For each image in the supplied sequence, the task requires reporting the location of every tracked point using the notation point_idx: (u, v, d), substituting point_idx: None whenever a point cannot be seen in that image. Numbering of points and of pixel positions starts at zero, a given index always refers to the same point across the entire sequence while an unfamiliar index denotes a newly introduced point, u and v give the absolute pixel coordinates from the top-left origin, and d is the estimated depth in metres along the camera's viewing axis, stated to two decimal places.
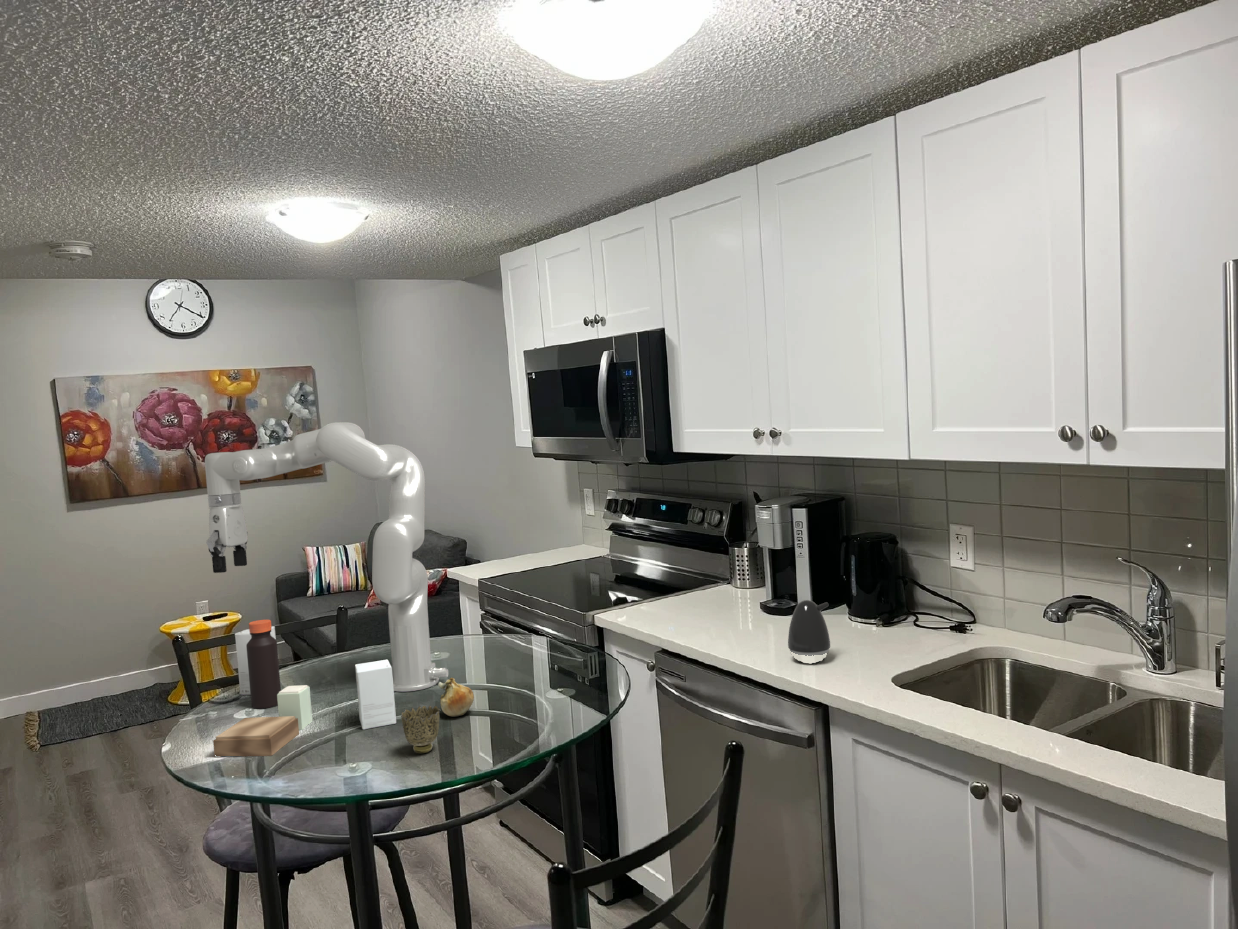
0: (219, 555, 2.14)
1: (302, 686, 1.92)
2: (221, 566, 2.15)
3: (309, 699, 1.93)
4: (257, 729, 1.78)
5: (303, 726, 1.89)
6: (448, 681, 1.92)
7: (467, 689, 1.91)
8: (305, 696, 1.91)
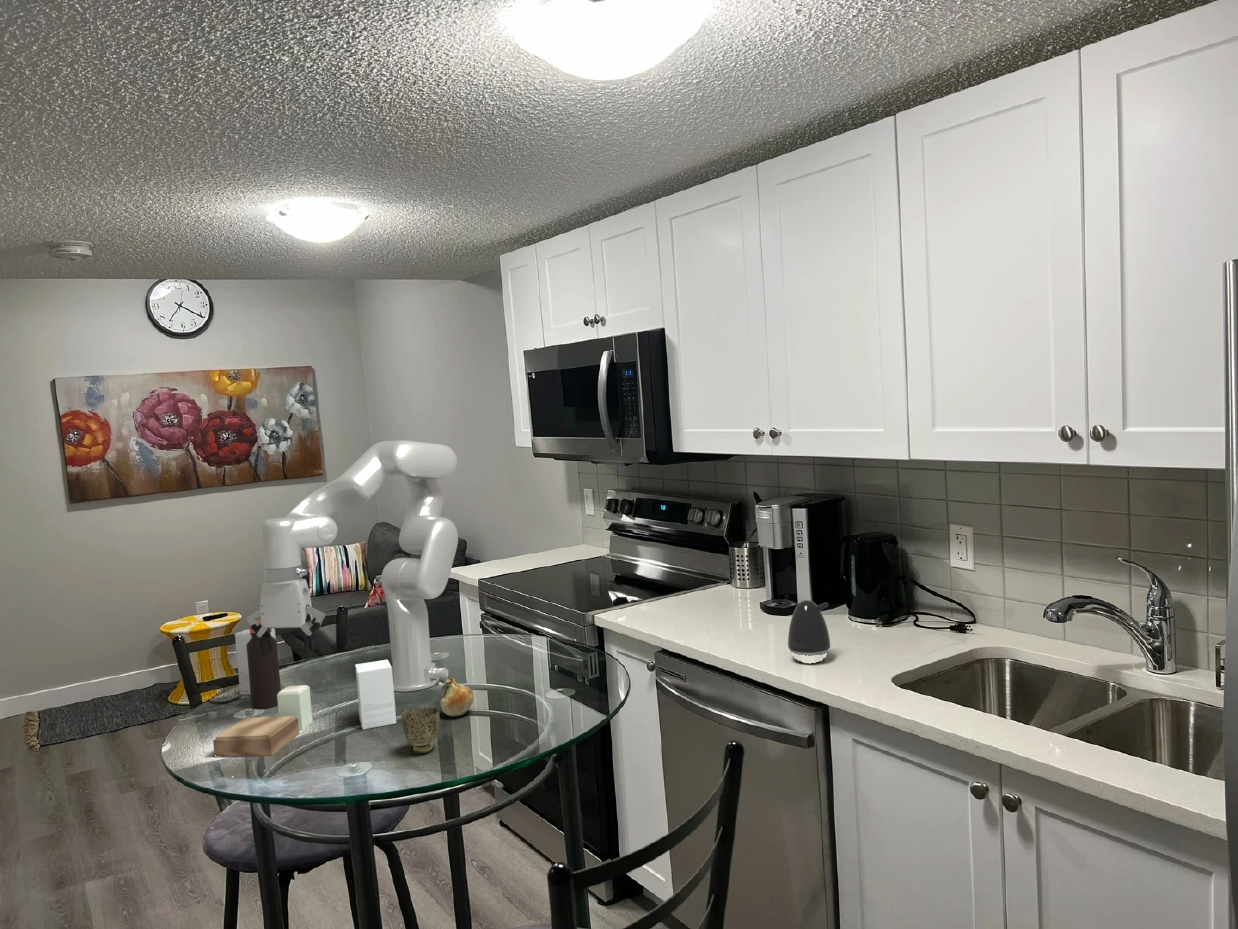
0: (315, 631, 1.90)
1: (302, 686, 1.92)
2: None
3: (309, 699, 1.93)
4: (257, 729, 1.78)
5: (303, 726, 1.89)
6: (448, 681, 1.92)
7: (467, 689, 1.91)
8: (305, 696, 1.91)
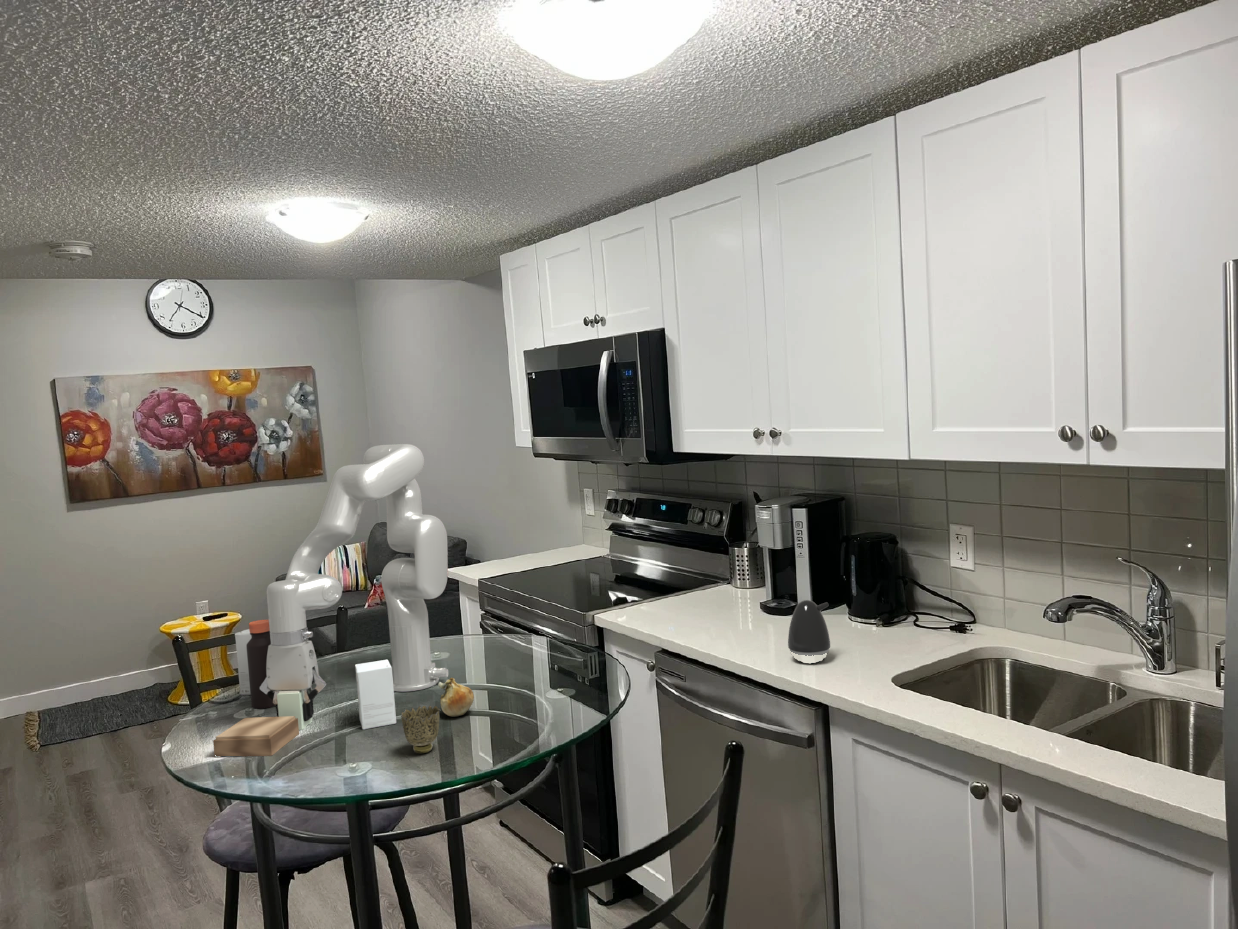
0: (313, 698, 1.91)
1: None
2: None
3: None
4: (257, 729, 1.78)
5: (303, 726, 1.89)
6: (448, 681, 1.92)
7: (467, 689, 1.91)
8: None
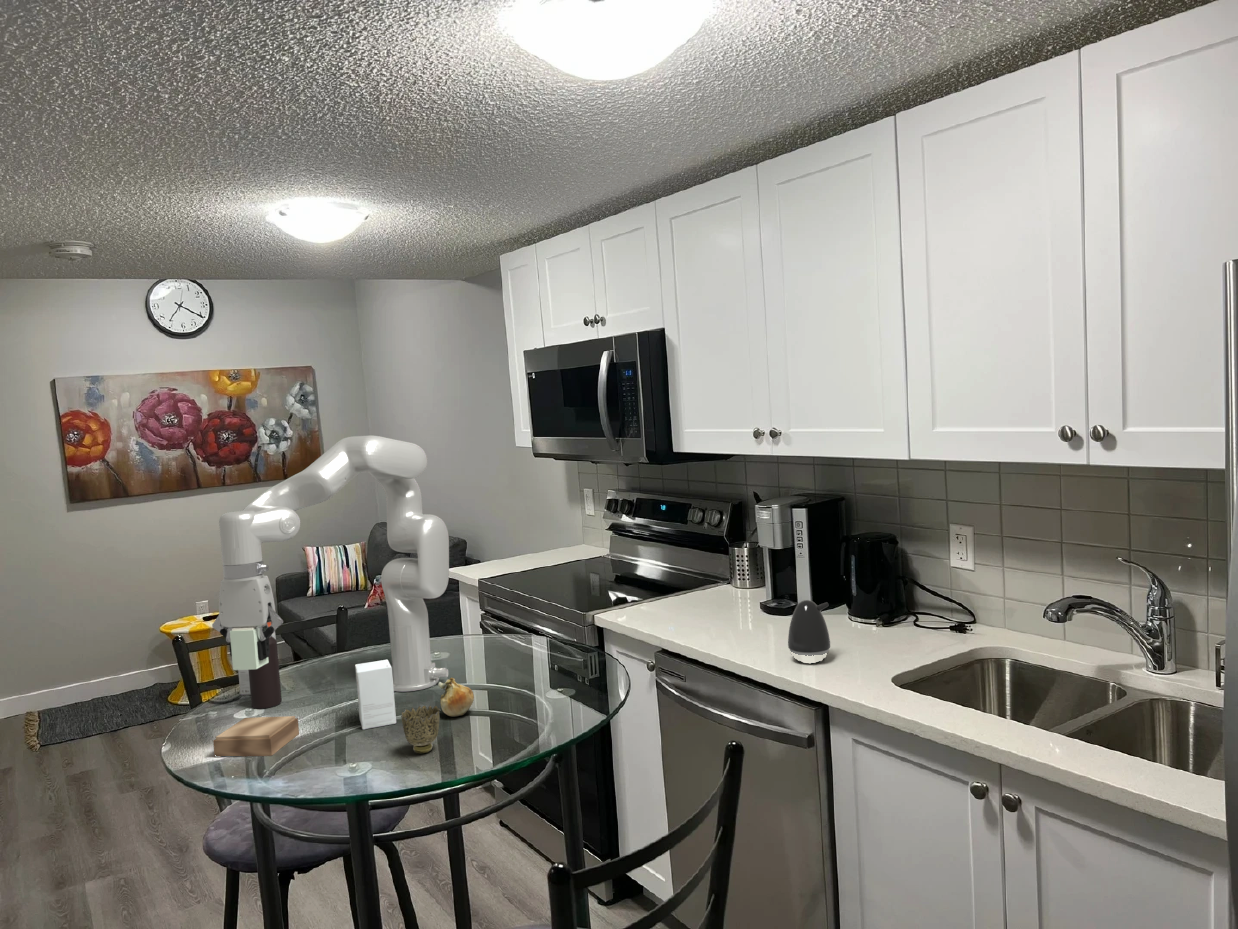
0: (270, 636, 1.80)
1: None
2: None
3: None
4: (257, 729, 1.78)
5: (258, 665, 1.78)
6: (448, 681, 1.92)
7: (467, 689, 1.91)
8: None
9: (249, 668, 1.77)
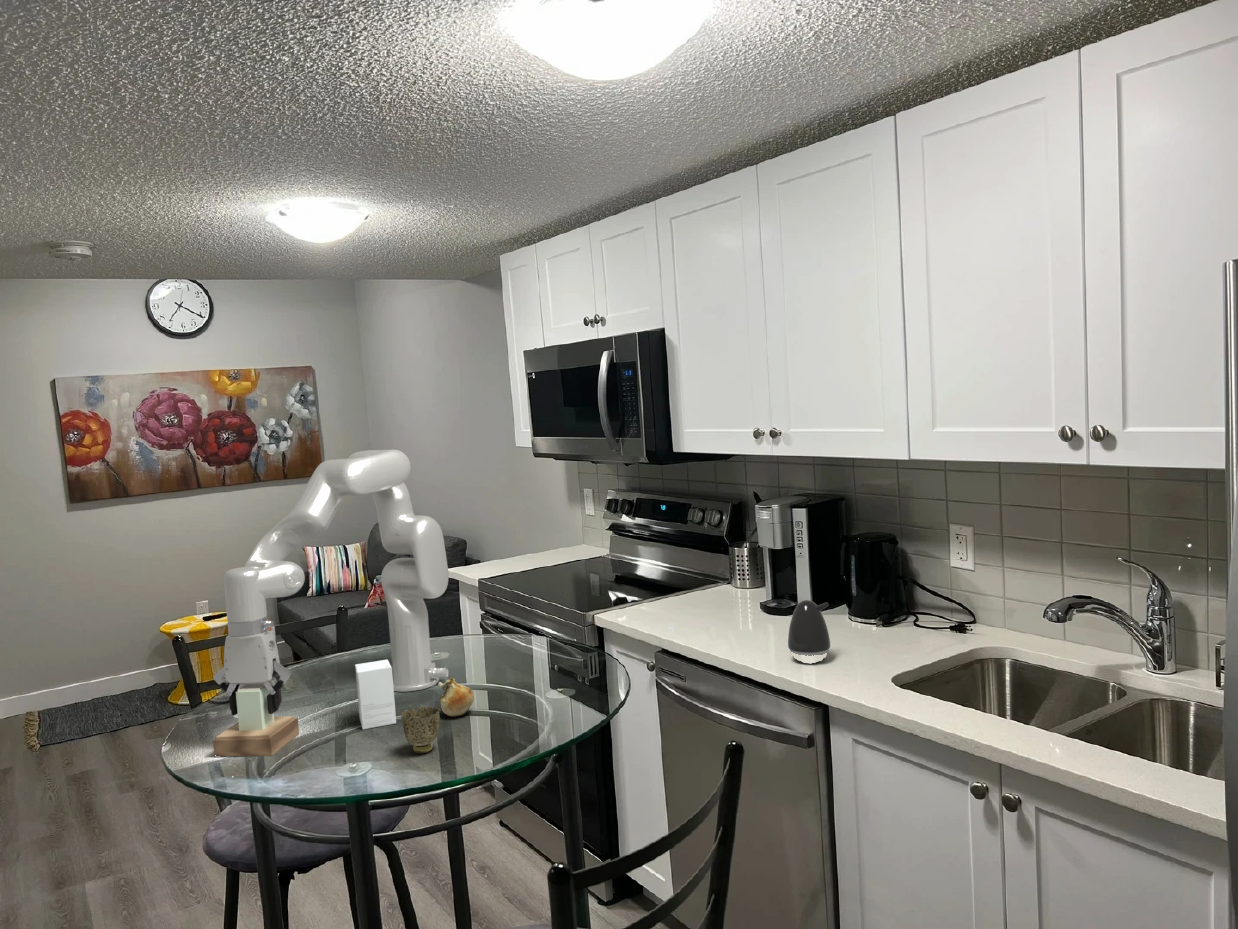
0: (279, 689, 1.81)
1: None
2: None
3: None
4: None
5: (264, 726, 1.78)
6: (448, 681, 1.92)
7: (467, 689, 1.91)
8: (266, 694, 1.80)
9: (255, 729, 1.78)
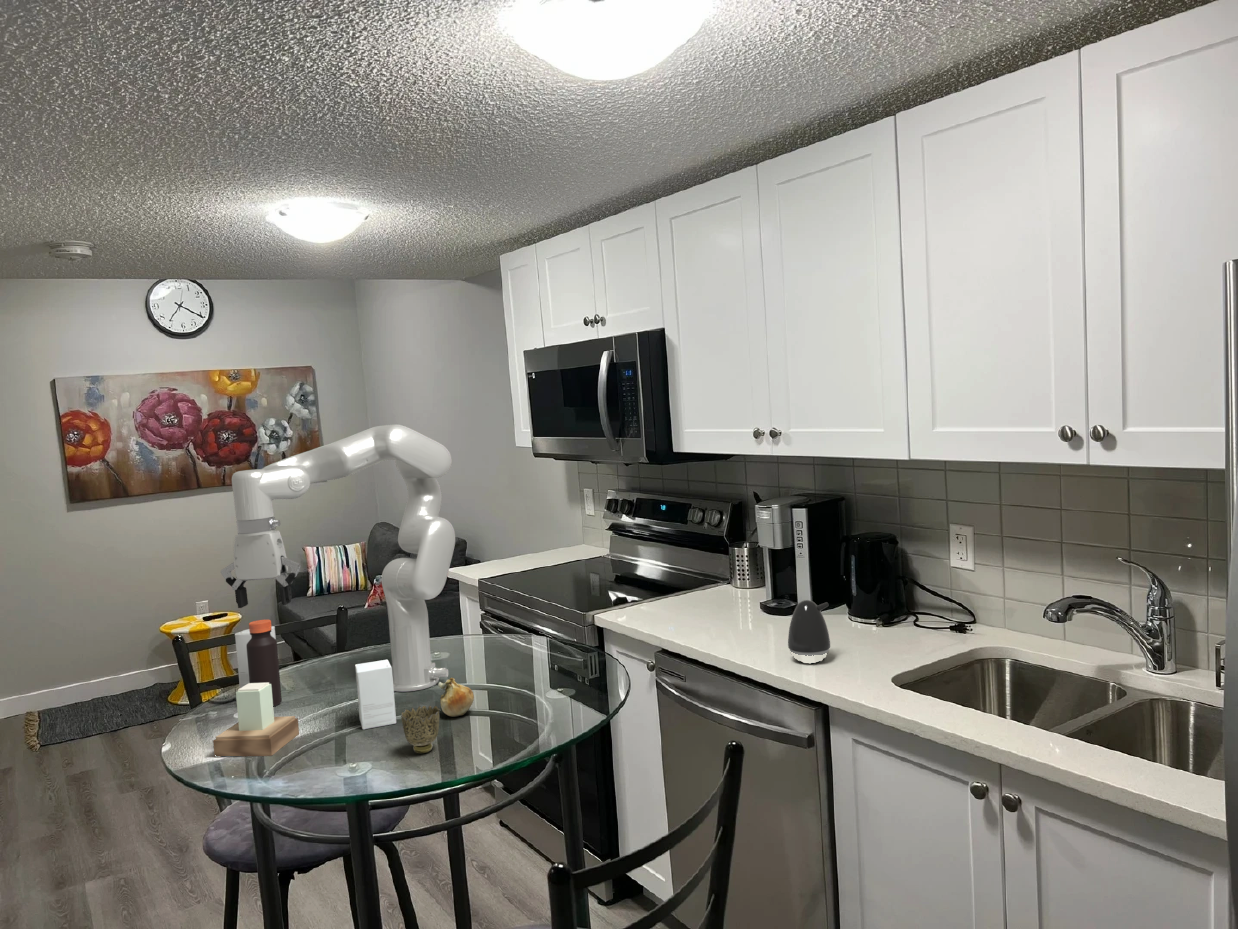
0: (291, 582, 1.90)
1: (263, 683, 1.81)
2: None
3: (271, 697, 1.82)
4: None
5: (264, 726, 1.78)
6: (448, 681, 1.92)
7: (467, 689, 1.91)
8: (266, 694, 1.80)
9: (255, 729, 1.78)
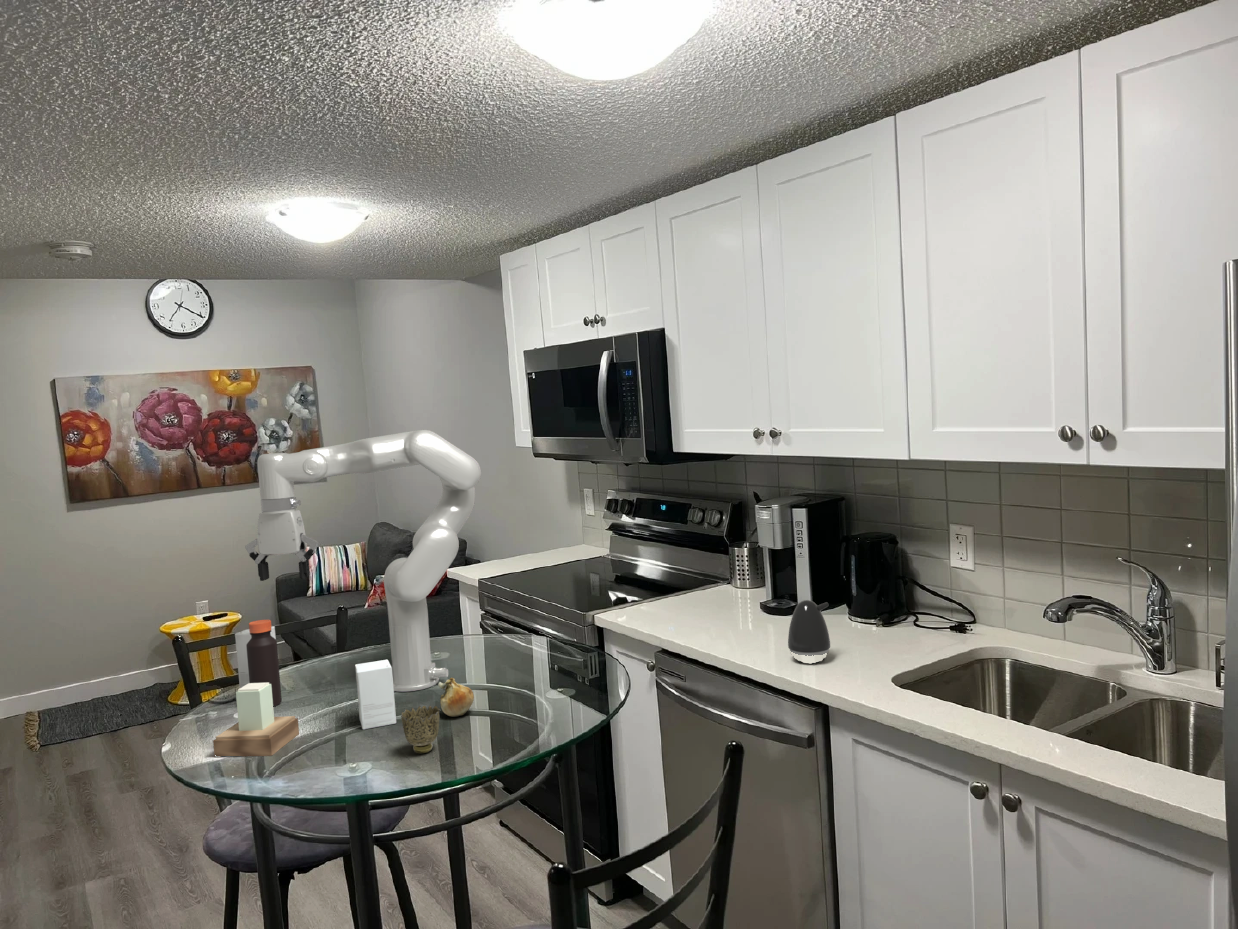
0: (309, 558, 2.05)
1: (263, 683, 1.81)
2: None
3: (271, 697, 1.82)
4: None
5: (264, 726, 1.78)
6: (448, 681, 1.92)
7: (467, 689, 1.91)
8: (266, 694, 1.80)
9: (255, 729, 1.78)
